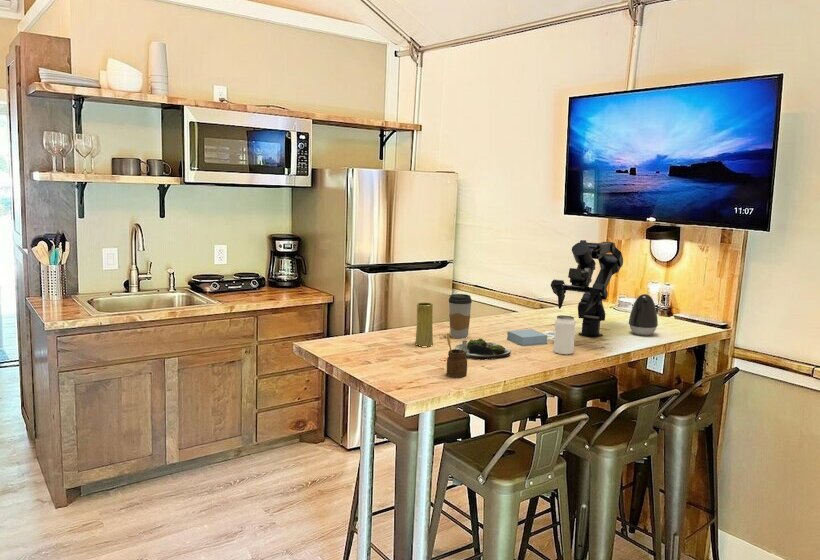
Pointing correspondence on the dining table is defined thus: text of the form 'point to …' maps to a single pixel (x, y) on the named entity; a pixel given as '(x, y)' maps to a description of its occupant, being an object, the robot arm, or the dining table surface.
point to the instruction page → (549, 335)
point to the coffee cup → (459, 315)
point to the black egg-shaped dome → (643, 316)
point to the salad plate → (483, 349)
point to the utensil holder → (456, 361)
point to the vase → (424, 324)
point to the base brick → (527, 337)
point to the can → (564, 335)
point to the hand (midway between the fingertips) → (572, 309)
